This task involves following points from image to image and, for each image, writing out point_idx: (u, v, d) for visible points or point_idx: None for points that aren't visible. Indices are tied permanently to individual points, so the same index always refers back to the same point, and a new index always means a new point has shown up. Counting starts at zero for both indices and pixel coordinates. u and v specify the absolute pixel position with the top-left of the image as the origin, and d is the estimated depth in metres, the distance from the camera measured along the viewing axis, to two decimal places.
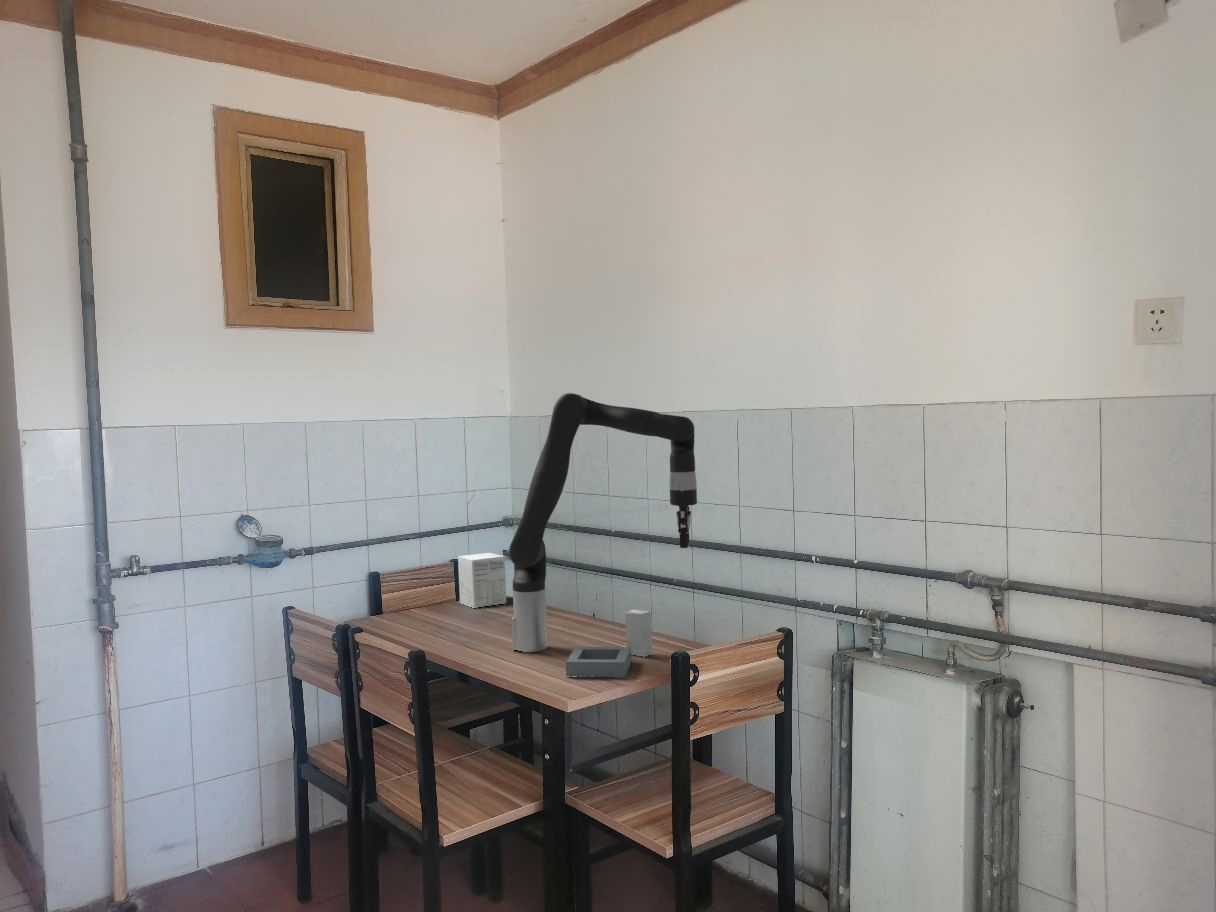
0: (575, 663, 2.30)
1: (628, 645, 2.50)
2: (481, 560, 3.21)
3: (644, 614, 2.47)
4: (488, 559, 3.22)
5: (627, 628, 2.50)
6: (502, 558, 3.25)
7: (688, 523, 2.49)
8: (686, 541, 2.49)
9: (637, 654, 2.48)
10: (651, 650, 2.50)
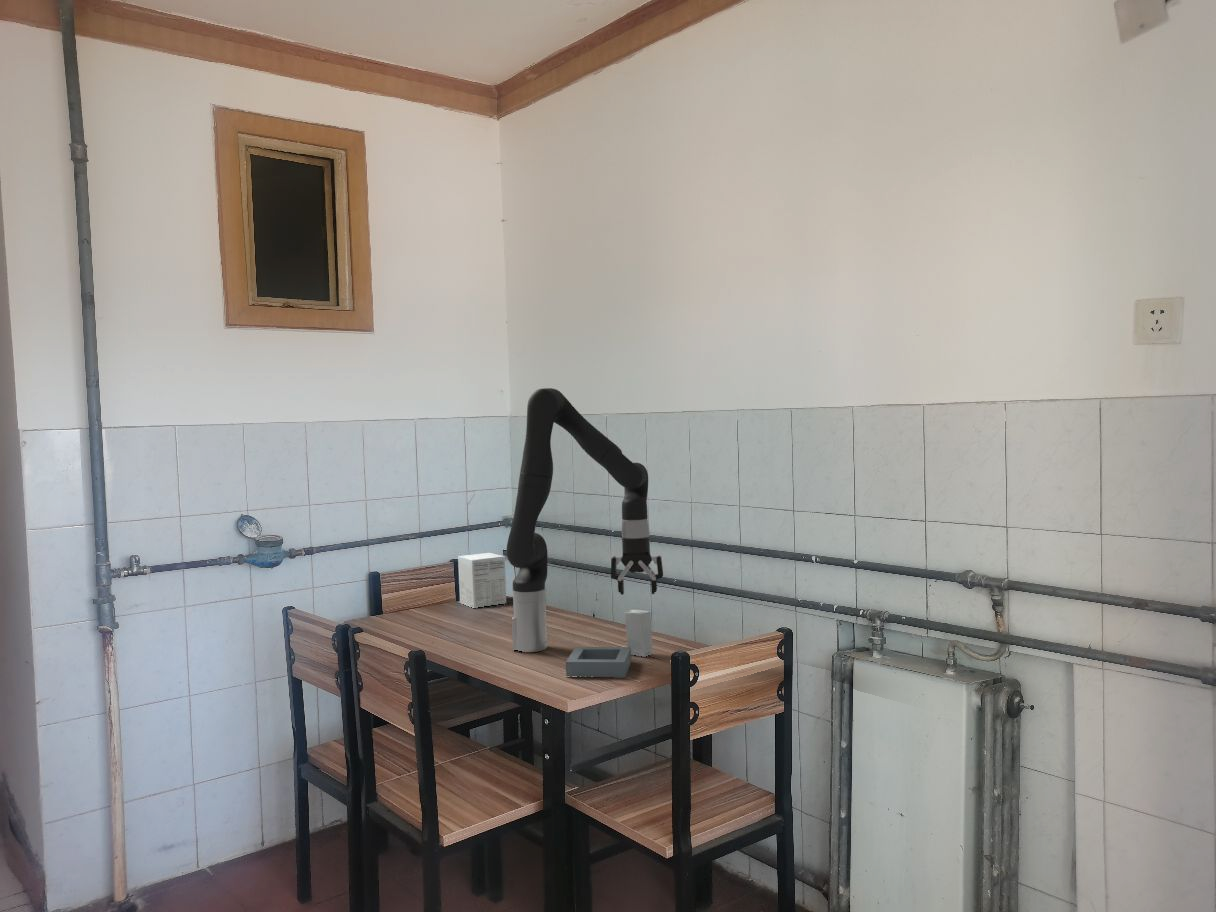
0: (575, 663, 2.30)
1: (628, 645, 2.50)
2: (481, 560, 3.21)
3: (644, 614, 2.47)
4: (488, 559, 3.22)
5: (627, 628, 2.50)
6: (502, 558, 3.25)
7: None
8: None
9: (637, 654, 2.48)
10: (651, 650, 2.50)
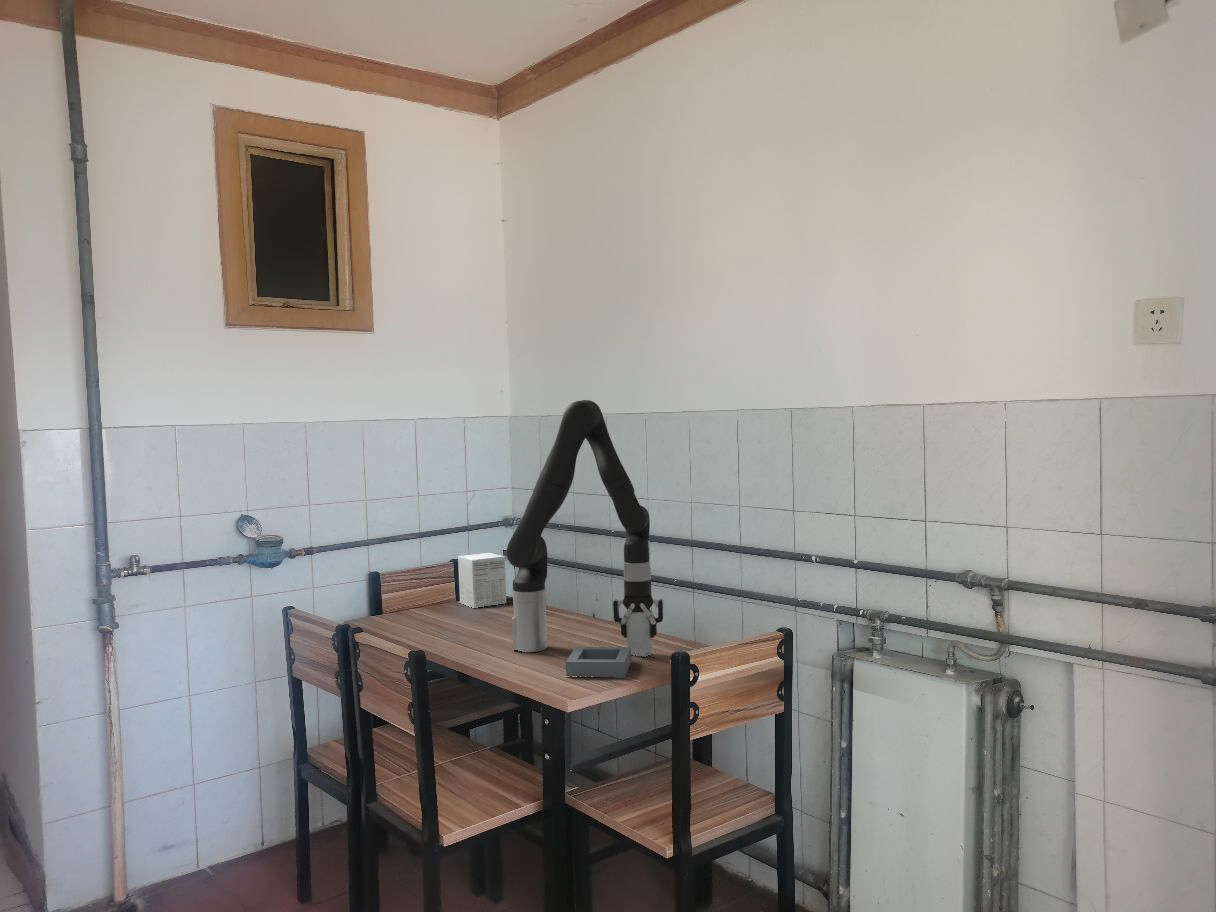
0: (575, 663, 2.30)
1: (628, 645, 2.50)
2: (481, 560, 3.21)
3: (644, 614, 2.47)
4: (488, 559, 3.22)
5: (627, 628, 2.50)
6: (502, 558, 3.25)
7: (651, 612, 2.51)
8: None
9: (637, 654, 2.48)
10: (651, 650, 2.50)
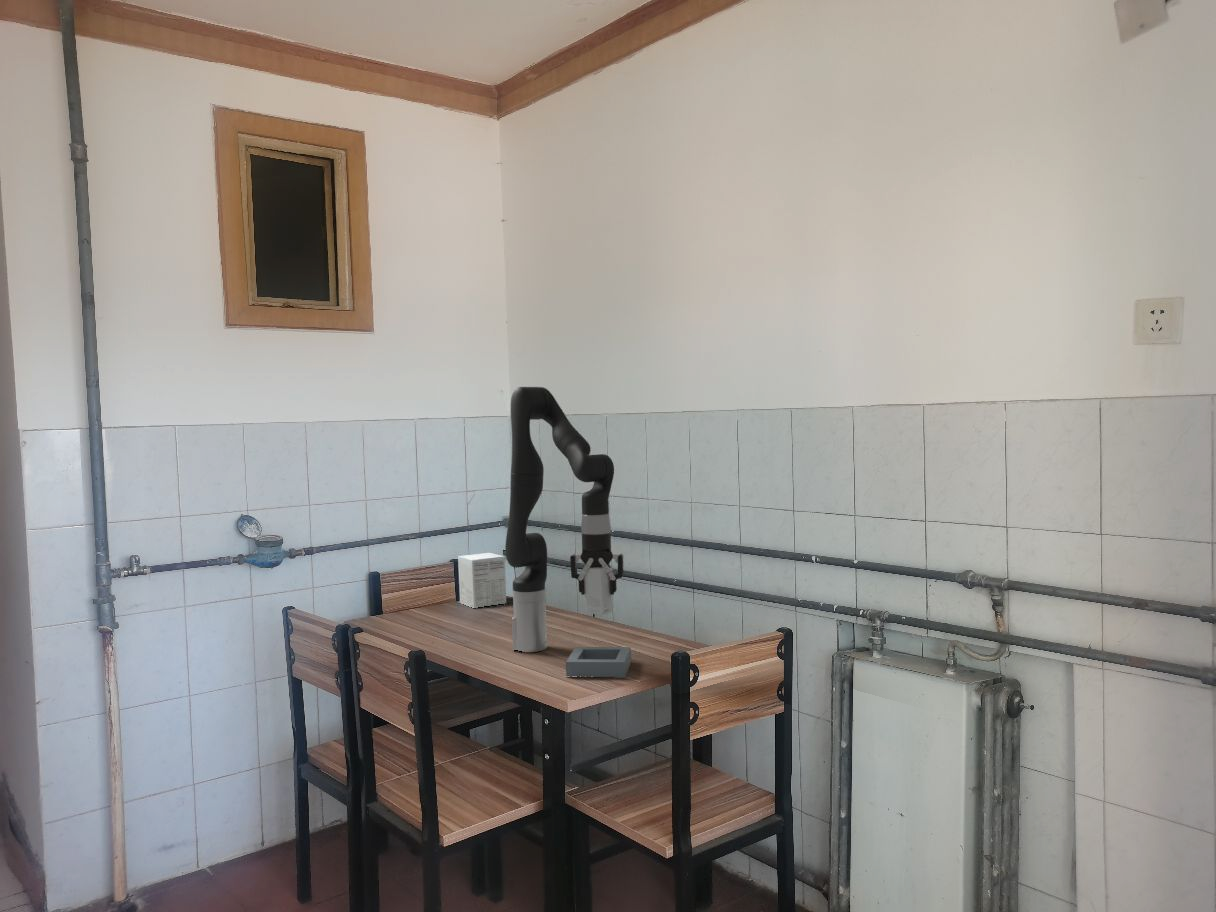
0: (575, 663, 2.30)
1: (586, 602, 2.36)
2: (481, 560, 3.21)
3: (603, 569, 2.33)
4: (488, 559, 3.22)
5: (585, 584, 2.36)
6: (502, 558, 3.25)
7: (611, 567, 2.37)
8: None
9: (596, 612, 2.34)
10: (610, 608, 2.36)
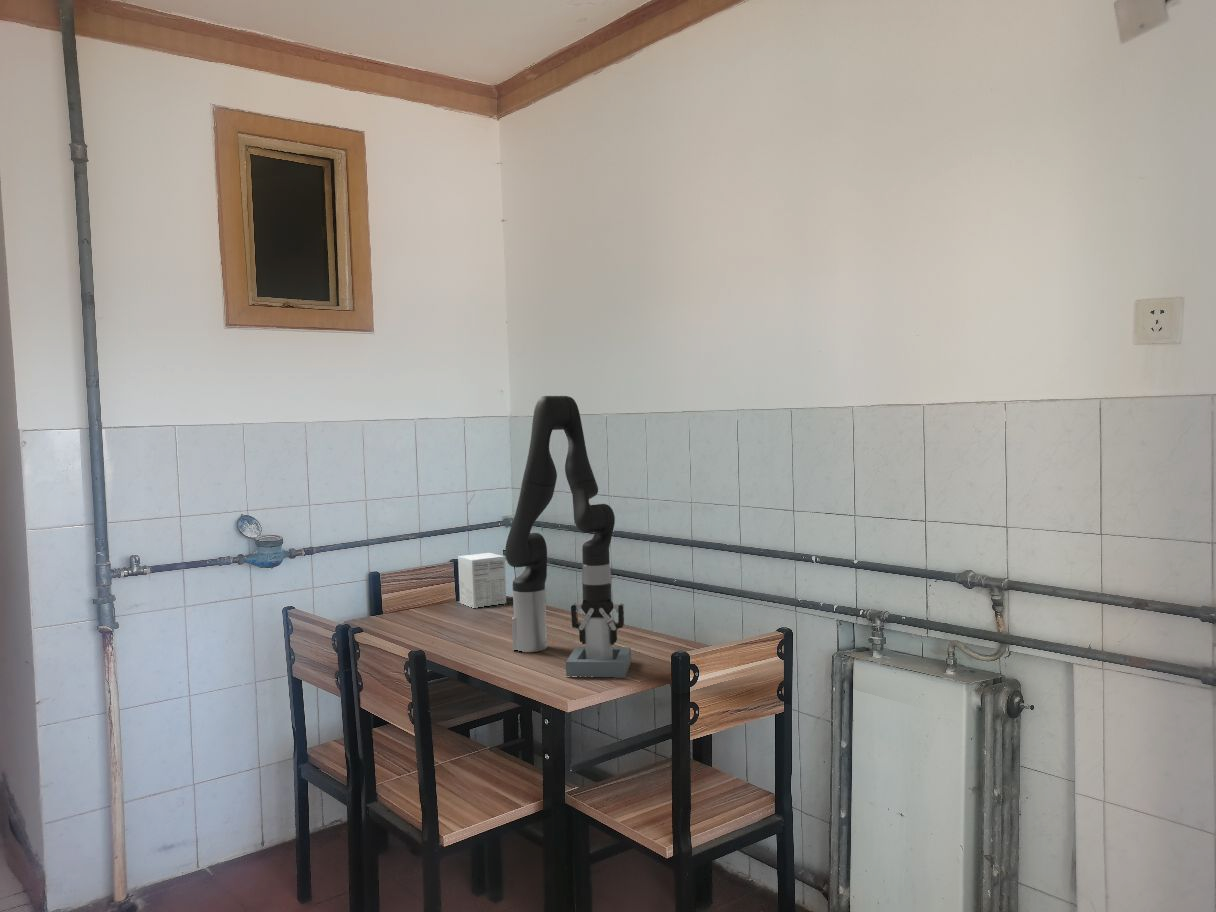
0: (575, 663, 2.30)
1: (587, 652, 2.36)
2: (481, 560, 3.21)
3: (603, 619, 2.34)
4: (488, 559, 3.22)
5: (586, 634, 2.36)
6: (502, 558, 3.25)
7: (612, 617, 2.37)
8: None
9: None
10: (611, 657, 2.36)
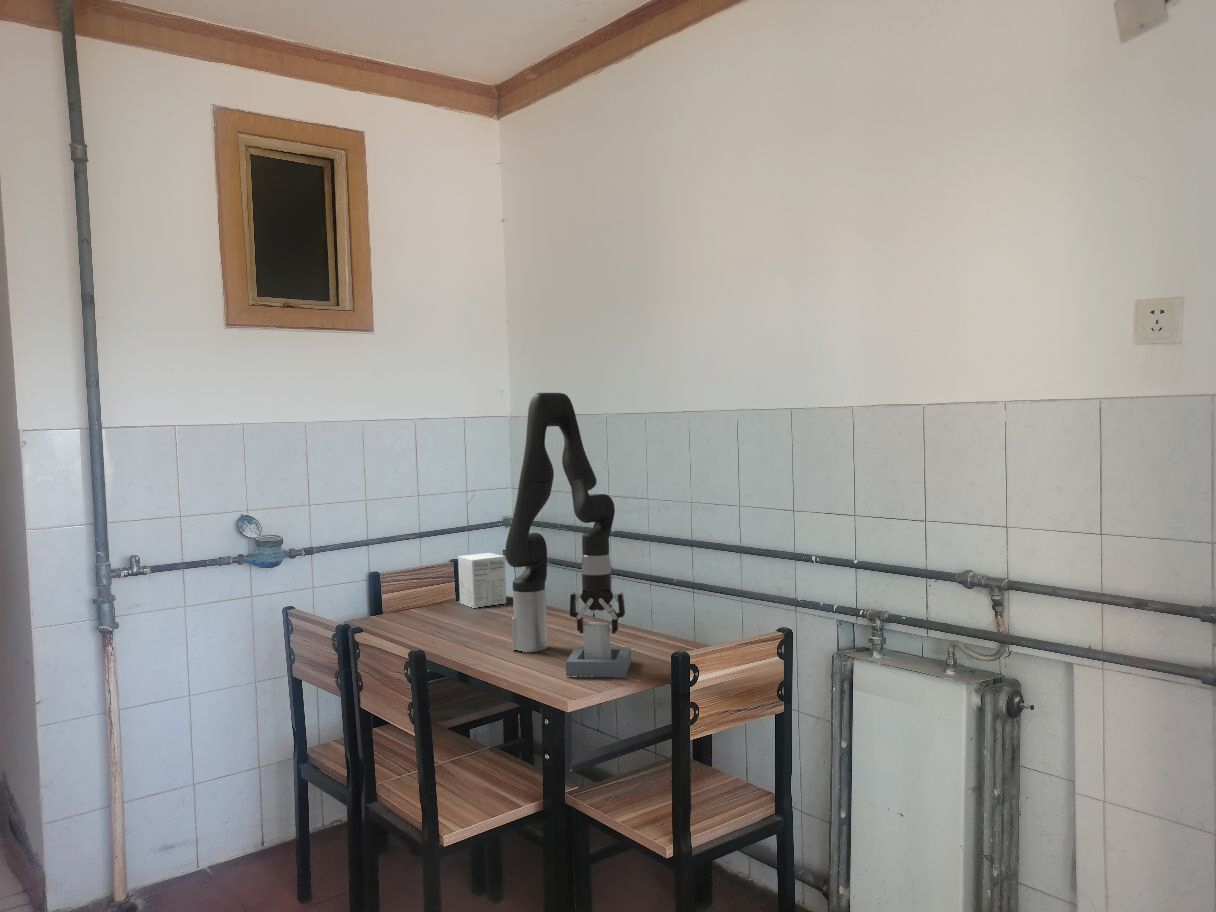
0: (575, 663, 2.30)
1: None
2: (481, 560, 3.21)
3: (602, 627, 2.34)
4: (488, 559, 3.22)
5: (584, 641, 2.36)
6: (502, 558, 3.25)
7: (612, 606, 2.37)
8: None
9: None
10: None
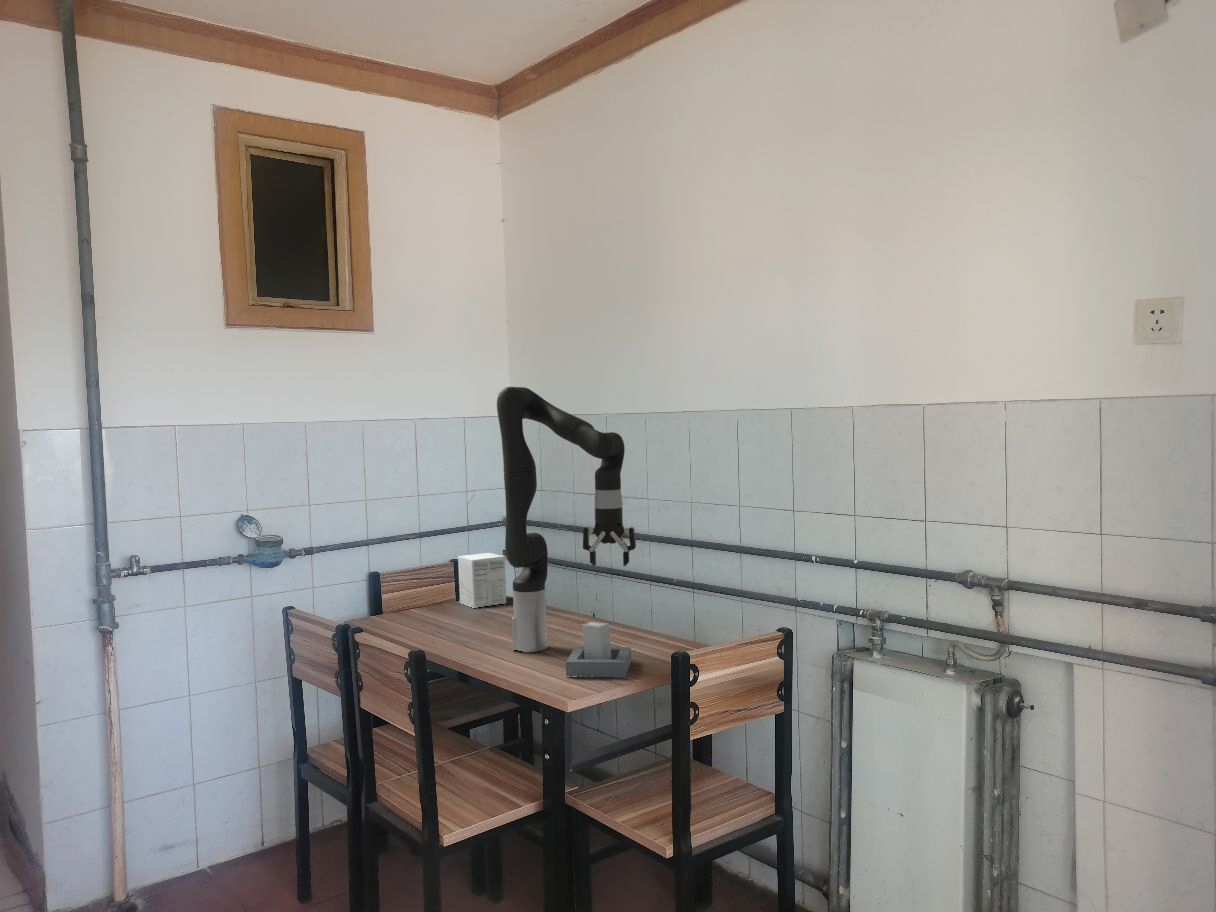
0: (575, 663, 2.30)
1: None
2: (481, 560, 3.21)
3: (602, 627, 2.34)
4: (488, 559, 3.22)
5: (584, 641, 2.36)
6: (502, 558, 3.25)
7: (623, 540, 2.47)
8: None
9: None
10: None
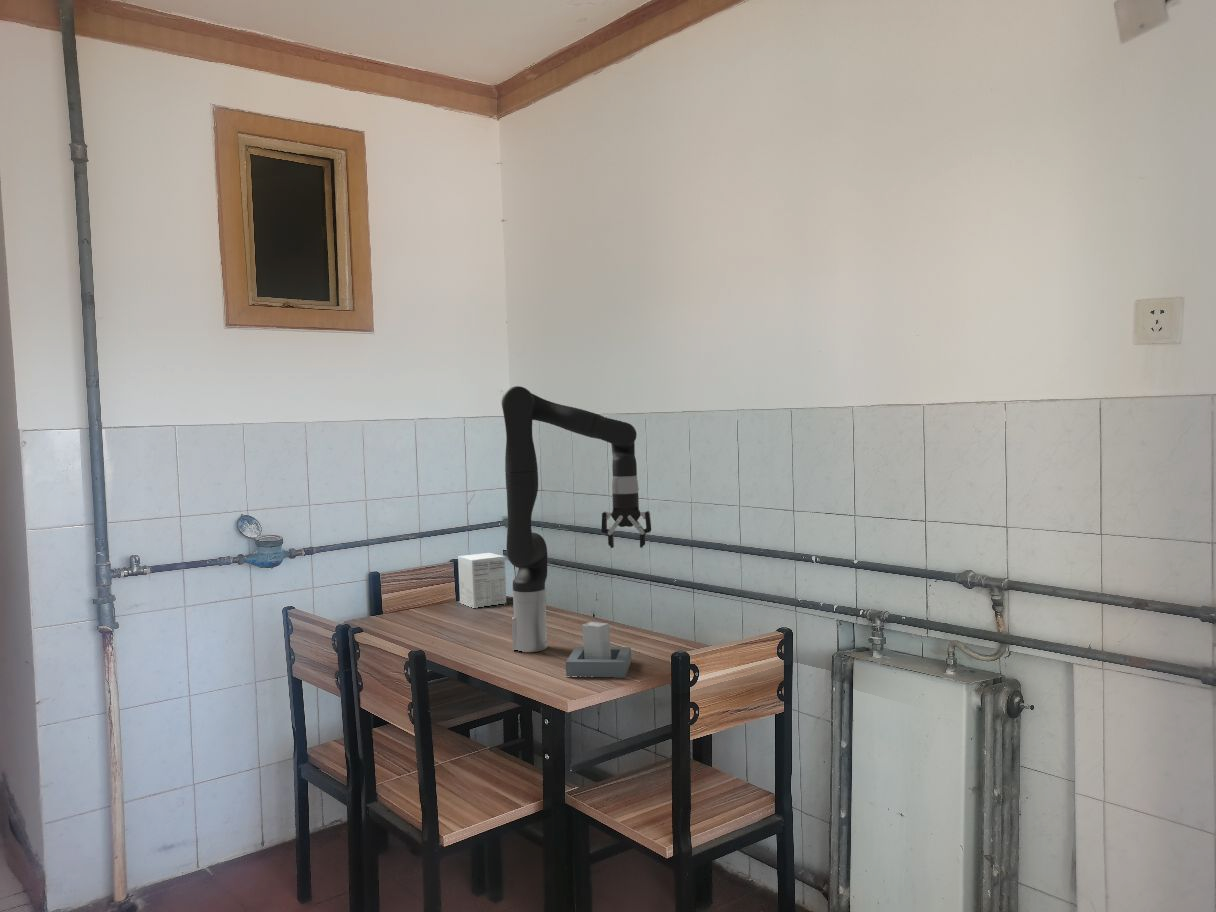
0: (575, 663, 2.30)
1: None
2: (481, 560, 3.21)
3: (602, 627, 2.34)
4: (488, 559, 3.22)
5: (584, 641, 2.36)
6: (502, 558, 3.25)
7: (639, 523, 2.62)
8: None
9: None
10: None
